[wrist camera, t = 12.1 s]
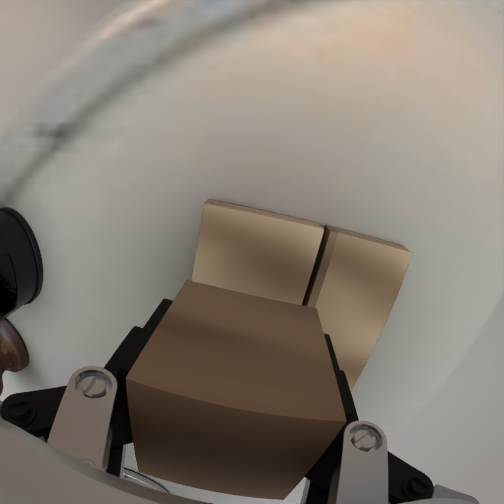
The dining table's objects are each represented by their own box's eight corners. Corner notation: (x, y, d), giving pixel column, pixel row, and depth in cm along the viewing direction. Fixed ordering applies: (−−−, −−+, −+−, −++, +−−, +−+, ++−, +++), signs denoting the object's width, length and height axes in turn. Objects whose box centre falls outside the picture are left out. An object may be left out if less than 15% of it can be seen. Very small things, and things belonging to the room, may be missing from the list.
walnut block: (281, 397, 11) (283, 499, 6) (176, 374, 11) (138, 471, 6) (316, 308, 10) (346, 420, 5) (187, 279, 10) (125, 377, 5)
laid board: (312, 437, 24) (313, 449, 22) (254, 430, 24) (253, 443, 22) (402, 245, 18) (413, 253, 16) (325, 224, 18) (330, 230, 16)
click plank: (250, 430, 24) (250, 442, 22) (177, 419, 23) (175, 431, 21) (318, 223, 18) (325, 229, 16) (208, 199, 17) (204, 203, 15)
